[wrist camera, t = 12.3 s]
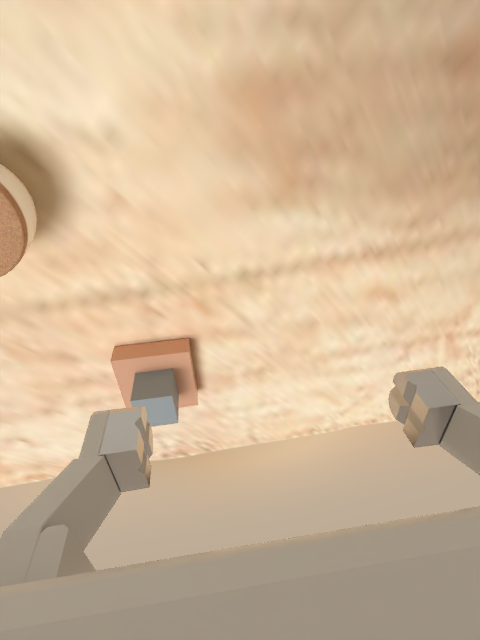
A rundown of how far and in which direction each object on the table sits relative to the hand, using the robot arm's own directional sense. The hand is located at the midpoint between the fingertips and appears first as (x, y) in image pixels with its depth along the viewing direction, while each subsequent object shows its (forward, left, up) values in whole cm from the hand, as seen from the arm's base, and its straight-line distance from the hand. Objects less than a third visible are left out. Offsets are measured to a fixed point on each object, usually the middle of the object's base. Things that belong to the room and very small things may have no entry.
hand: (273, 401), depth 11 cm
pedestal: (+10, +25, -31) cm, 41 cm away
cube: (+10, +25, -28) cm, 39 cm away
